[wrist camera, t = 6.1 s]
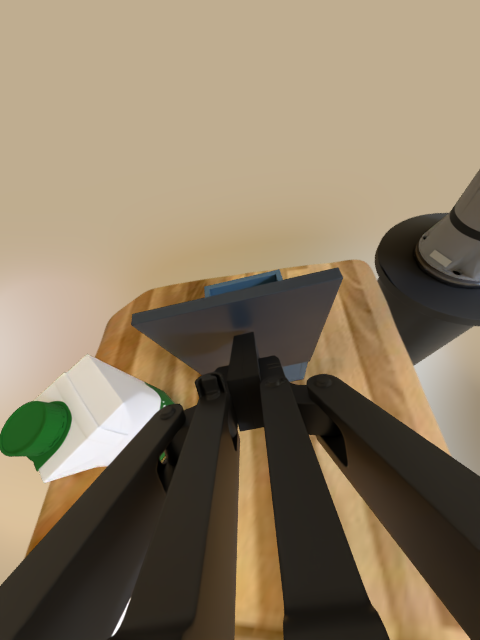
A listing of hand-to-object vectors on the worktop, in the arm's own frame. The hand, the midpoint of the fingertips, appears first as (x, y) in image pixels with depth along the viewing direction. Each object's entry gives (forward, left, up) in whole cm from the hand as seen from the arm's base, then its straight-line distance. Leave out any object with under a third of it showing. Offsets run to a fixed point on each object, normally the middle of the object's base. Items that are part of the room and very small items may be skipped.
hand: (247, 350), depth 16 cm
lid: (0, -2, -3) cm, 4 cm away
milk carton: (+17, +1, -21) cm, 27 cm away
